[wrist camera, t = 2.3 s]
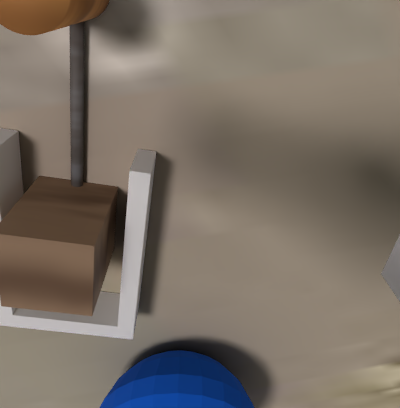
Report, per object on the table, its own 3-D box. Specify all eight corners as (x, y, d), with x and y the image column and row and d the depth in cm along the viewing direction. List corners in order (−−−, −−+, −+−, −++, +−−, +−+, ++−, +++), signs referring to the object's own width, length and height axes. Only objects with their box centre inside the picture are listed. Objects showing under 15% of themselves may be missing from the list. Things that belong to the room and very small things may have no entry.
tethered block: (25, -63, 25) (-67, -91, 16) (132, -43, 25) (97, -58, 17) (42, 239, 37) (-5, 315, 28) (114, 248, 38) (89, 326, 29)
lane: (-2, 127, 31) (-30, 147, 27) (156, 151, 32) (150, 173, 28) (16, 292, 40) (-3, 324, 36) (138, 306, 41) (132, 339, 38)
